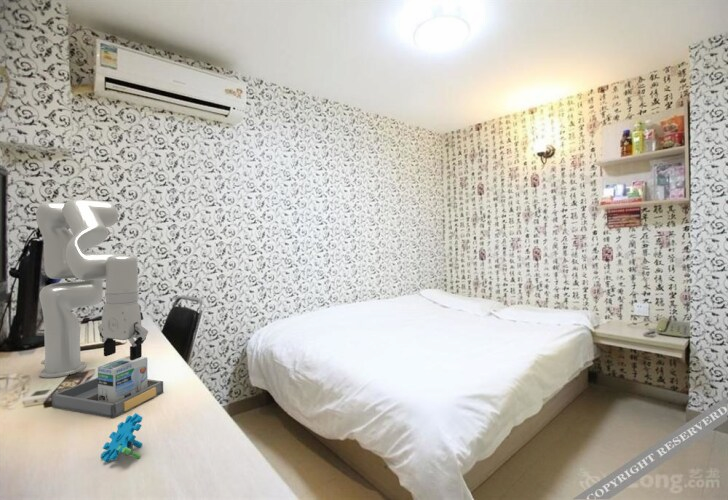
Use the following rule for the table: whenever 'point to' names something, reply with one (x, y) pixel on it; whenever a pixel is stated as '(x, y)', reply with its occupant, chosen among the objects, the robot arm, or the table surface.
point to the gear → (123, 439)
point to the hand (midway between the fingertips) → (122, 356)
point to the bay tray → (87, 401)
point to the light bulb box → (121, 379)
